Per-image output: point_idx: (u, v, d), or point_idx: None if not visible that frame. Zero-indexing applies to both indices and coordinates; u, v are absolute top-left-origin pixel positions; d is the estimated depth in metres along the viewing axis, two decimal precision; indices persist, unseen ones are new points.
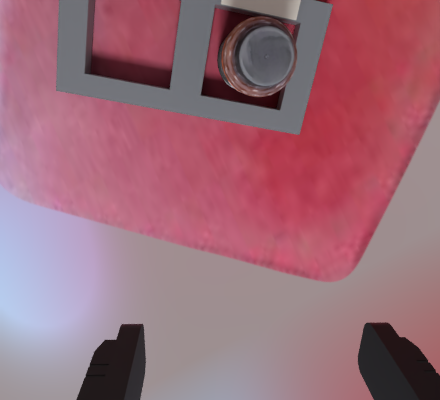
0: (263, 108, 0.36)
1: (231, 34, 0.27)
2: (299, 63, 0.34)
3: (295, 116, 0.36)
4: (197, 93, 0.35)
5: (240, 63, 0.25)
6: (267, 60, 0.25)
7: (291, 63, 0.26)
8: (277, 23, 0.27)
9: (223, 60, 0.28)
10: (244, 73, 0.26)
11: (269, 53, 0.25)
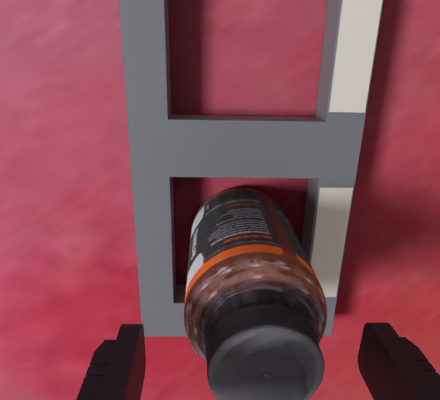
0: (170, 279, 0.21)
1: (291, 267, 0.14)
2: None
3: (169, 325, 0.23)
4: (171, 171, 0.19)
5: (245, 332, 0.11)
6: (259, 379, 0.12)
7: None
8: (319, 340, 0.15)
9: (241, 259, 0.14)
10: (225, 344, 0.12)
11: (274, 379, 0.12)
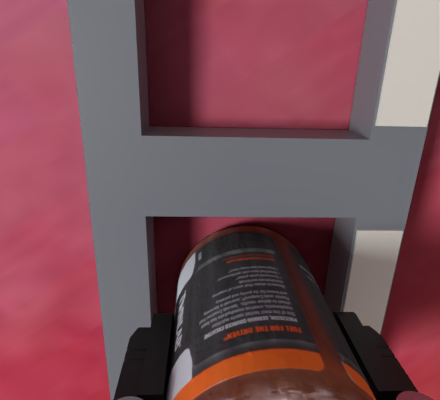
0: None
1: None
2: None
3: None
4: (148, 208, 0.13)
5: None
6: None
7: None
8: None
9: (256, 385, 0.08)
10: None
11: None
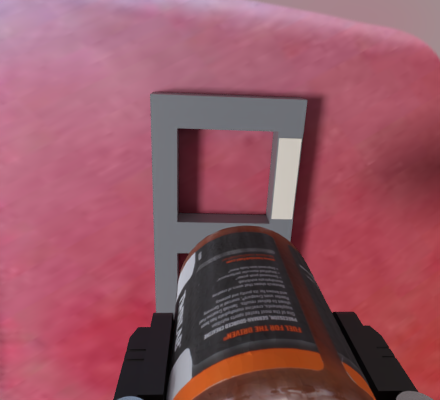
0: None
1: (342, 399, 0.08)
2: None
3: None
4: (178, 249, 0.32)
5: None
6: None
7: None
8: None
9: (256, 384, 0.08)
10: None
11: None
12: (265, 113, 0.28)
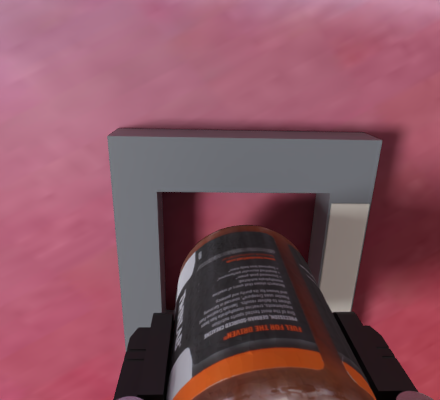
0: None
1: (342, 399, 0.08)
2: None
3: None
4: None
5: None
6: None
7: None
8: None
9: (256, 384, 0.08)
10: None
11: None
12: (308, 164, 0.16)
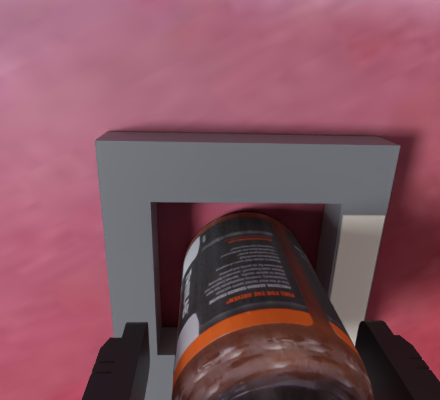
0: None
1: (327, 348, 0.09)
2: None
3: None
4: (161, 396, 0.19)
5: None
6: None
7: None
8: None
9: (254, 335, 0.09)
10: None
11: None
12: (318, 172, 0.15)
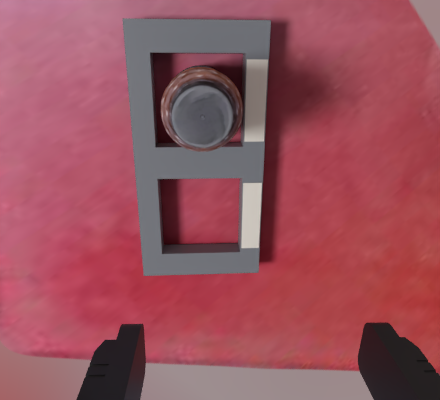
0: (160, 239, 0.36)
1: (219, 73, 0.25)
2: (207, 259, 0.37)
3: (159, 268, 0.37)
4: (158, 175, 0.34)
5: (190, 89, 0.22)
6: (198, 119, 0.23)
7: (201, 146, 0.24)
8: (238, 122, 0.26)
9: (191, 69, 0.25)
10: (180, 96, 0.22)
11: (206, 120, 0.23)
12: (232, 35, 0.30)
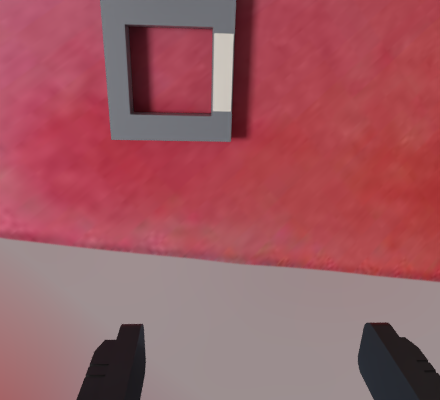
0: (127, 96, 0.35)
1: None
2: (177, 123, 0.36)
3: (127, 131, 0.36)
4: (125, 20, 0.32)
5: None
6: None
7: None
8: None
9: None
10: None
11: None
12: None
